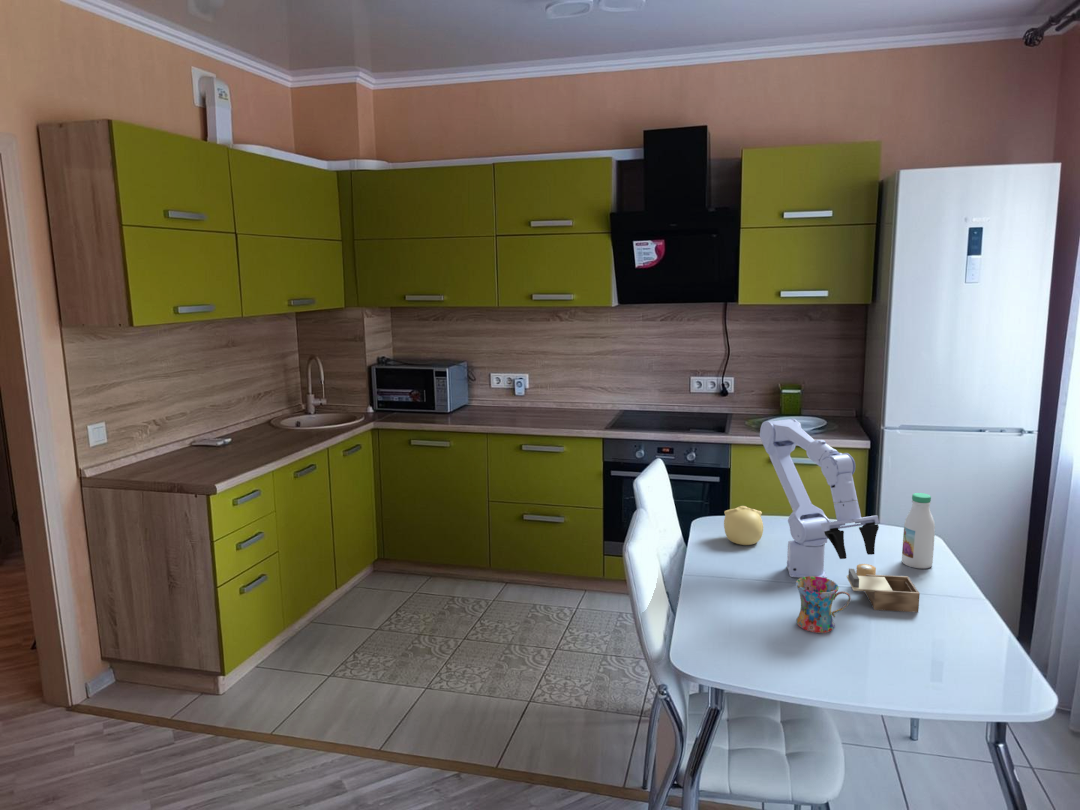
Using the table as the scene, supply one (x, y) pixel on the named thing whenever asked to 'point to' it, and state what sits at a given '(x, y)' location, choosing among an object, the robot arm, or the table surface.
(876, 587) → the lid
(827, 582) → the mug
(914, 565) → the milk bottle
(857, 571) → the roll-on deodorant
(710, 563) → the table surface
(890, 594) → the wooden box
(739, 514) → the pale yellow round lump
